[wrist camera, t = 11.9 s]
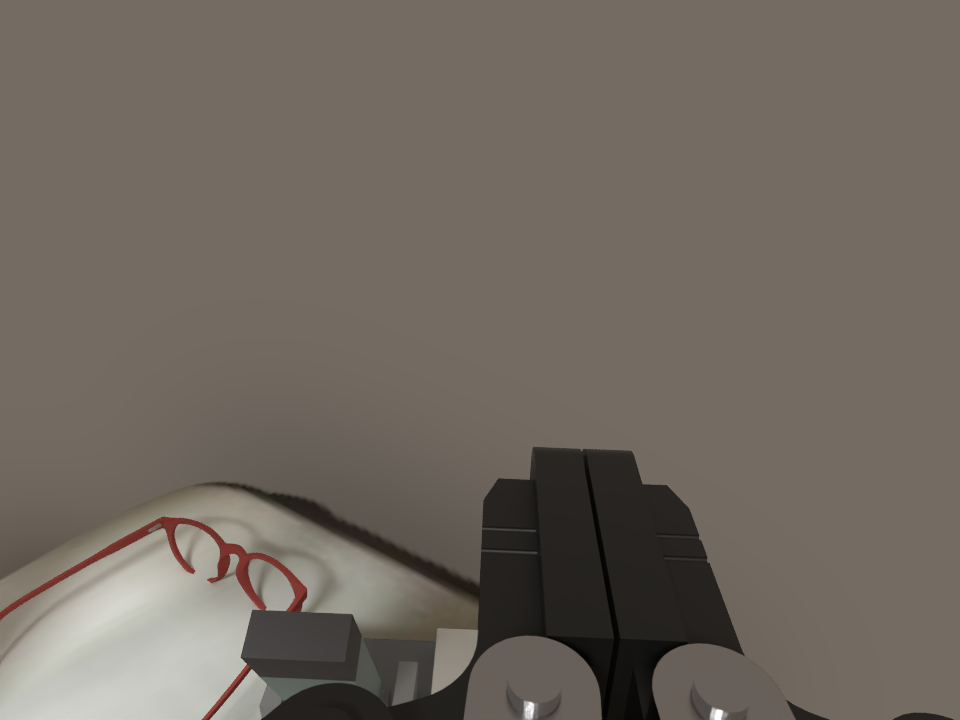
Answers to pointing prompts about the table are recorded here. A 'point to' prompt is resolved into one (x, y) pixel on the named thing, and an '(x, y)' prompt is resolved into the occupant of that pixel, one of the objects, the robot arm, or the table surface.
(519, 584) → the robot arm
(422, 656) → the console
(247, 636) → the teal lever
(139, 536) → the red eyeglasses
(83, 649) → the table surface
